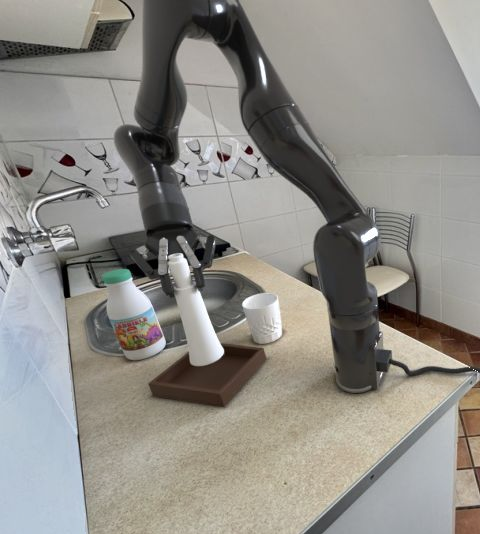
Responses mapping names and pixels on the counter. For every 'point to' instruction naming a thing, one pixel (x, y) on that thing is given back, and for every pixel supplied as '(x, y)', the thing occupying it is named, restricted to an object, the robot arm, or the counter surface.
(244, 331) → the counter surface
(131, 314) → the milk bottle
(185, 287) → the cosmetic bottle
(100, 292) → the counter surface
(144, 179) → the robot arm
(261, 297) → the white cup
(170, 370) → the tray
